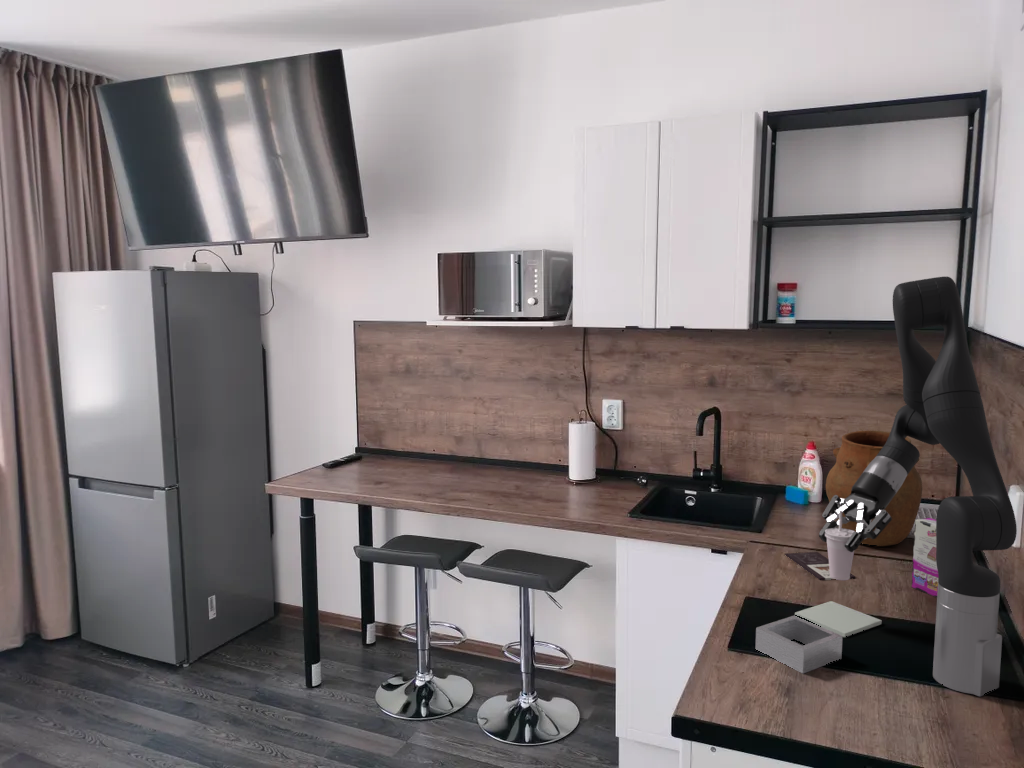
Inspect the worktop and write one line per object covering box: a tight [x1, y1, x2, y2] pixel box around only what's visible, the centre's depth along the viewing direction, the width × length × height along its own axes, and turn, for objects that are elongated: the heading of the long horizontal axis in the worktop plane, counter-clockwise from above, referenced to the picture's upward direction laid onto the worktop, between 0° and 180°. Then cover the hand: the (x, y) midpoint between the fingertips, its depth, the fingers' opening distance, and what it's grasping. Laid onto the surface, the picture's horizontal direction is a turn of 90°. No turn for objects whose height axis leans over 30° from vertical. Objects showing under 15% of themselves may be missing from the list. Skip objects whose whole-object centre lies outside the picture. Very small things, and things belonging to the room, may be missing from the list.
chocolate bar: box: [784, 551, 856, 581], centre depth 193 cm, size 9×1×18 cm
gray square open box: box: [755, 615, 843, 674], centre depth 145 cm, size 11×11×4 cm
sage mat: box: [794, 600, 882, 638], centre depth 161 cm, size 12×12×1 cm
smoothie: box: [825, 511, 855, 581], centre depth 159 cm, size 6×6×14 cm
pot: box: [825, 430, 923, 547], centre depth 211 cm, size 24×24×30 cm
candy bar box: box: [911, 517, 938, 598], centre depth 173 cm, size 11×5×16 cm, turn 21°
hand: (835, 544), depth 158 cm, fingers closed on smoothie, 6 cm apart
